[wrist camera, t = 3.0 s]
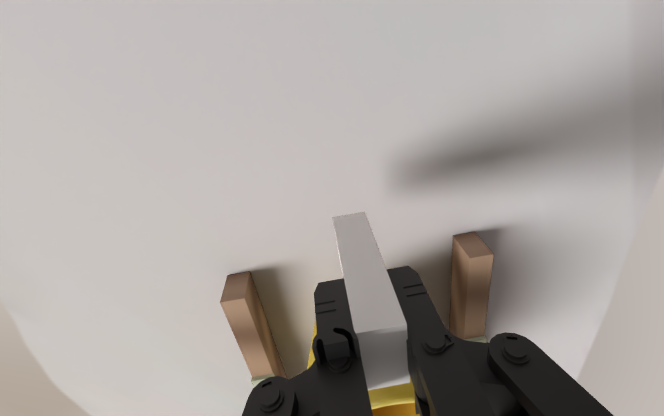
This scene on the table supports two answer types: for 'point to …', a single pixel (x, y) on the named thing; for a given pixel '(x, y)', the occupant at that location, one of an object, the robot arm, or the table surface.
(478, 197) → the table surface
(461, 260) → the pair of brown bars
